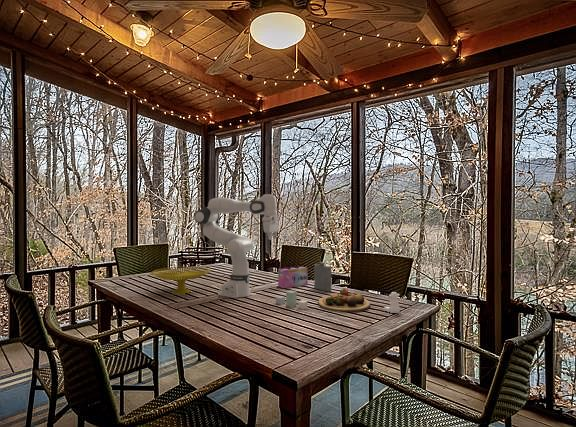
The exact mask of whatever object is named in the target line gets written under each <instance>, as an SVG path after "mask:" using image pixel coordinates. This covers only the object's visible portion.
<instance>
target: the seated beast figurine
mask: <svg viewBox="0 0 576 427" xmlns="http://www.w3.org/2000/svg"><path fill="white" fill-rule="evenodd" d="M399 296H400V293H397V292H396V291H392V292H391V293H390V294H389V298H390V302H389V306H385V307H383V310H382V311H384V312H385V311H387V312H386V313H389V312H390V313H389V314H392V313H398V314H400V312H401V308H400V307H401V306H400V305H399V304H400V303H399V301H398V298H399Z"/></svg>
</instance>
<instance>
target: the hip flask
mask: <svg viewBox="0 0 576 427" xmlns="http://www.w3.org/2000/svg"><path fill="white" fill-rule="evenodd" d="M313 269H314V281H313V283H314V284H313V285H314V286H313V287H314V289H317V290H320V291H324V292H332V266H329V265H325V262H323V261H320V262H319V264H318V263H314V268H313Z"/></svg>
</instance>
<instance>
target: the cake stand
mask: <svg viewBox="0 0 576 427" xmlns="http://www.w3.org/2000/svg"><path fill="white" fill-rule="evenodd" d="M210 272H211V269H210V268H207V267H203V266H192V265H191V266H172V267H164V268H158V269H154V270H153V271H151V272H150V274H151V275H152V276H155V277H157V278H160V279H161V280H165V281H176V282H177V288H175V289H174V290H172V291H171V292H170V294H171V293H173V294H172V295H175V294H183V295H186V294H185V293H189V292H191V291H192V290H191V289H188V288H186V281H188V280H194V279H198V278H200V277H203V276H205V275H206V274H208V273H210ZM191 293H192V292H191ZM189 294H190V293H189Z"/></svg>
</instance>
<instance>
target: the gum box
mask: <svg viewBox="0 0 576 427" xmlns="http://www.w3.org/2000/svg"><path fill="white" fill-rule="evenodd" d="M277 270H278V273H277V275H278V276H277V278H278V282H277V286H278V287H279V288H282V289H286V288H288V289H289V288H294V287H300V286H307V285H308V282H309V281H308V276H309V274H308V267H304V266H302V265H299V266H291V267H283V268H278V269H277Z"/></svg>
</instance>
